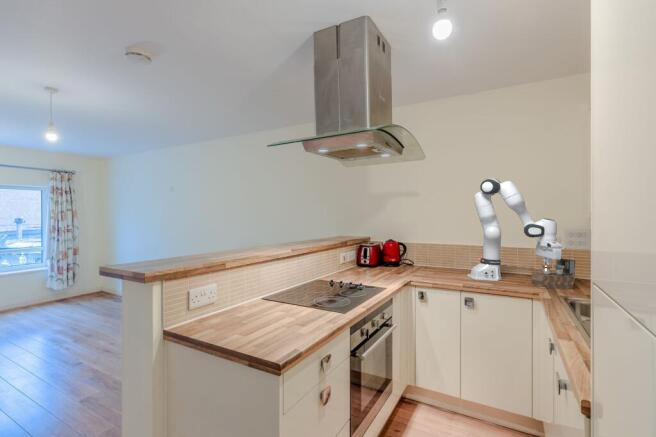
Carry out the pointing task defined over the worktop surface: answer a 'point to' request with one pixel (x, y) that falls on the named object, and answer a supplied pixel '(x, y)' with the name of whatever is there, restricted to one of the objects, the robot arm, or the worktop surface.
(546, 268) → the peg
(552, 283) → the socket block
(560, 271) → the peg
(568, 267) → the coffee box
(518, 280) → the worktop surface
